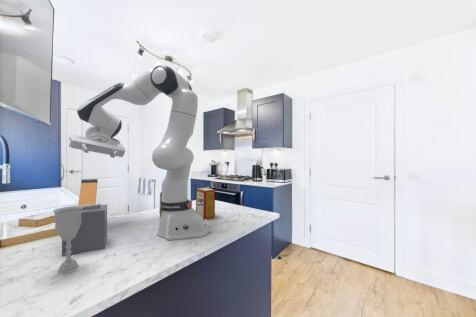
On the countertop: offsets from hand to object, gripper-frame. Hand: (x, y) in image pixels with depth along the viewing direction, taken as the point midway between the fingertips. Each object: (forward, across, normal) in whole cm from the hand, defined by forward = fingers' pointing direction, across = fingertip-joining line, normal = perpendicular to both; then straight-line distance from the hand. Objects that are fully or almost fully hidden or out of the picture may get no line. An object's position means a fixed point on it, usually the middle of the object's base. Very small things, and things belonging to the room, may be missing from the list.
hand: (100, 153), depth 84 cm
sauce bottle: (+4, +38, +29) cm, 48 cm away
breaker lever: (+15, -1, +16) cm, 22 cm away
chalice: (+36, -4, +24) cm, 43 cm away
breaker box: (+21, +2, +29) cm, 36 cm away
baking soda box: (+16, +54, +20) cm, 60 cm away
